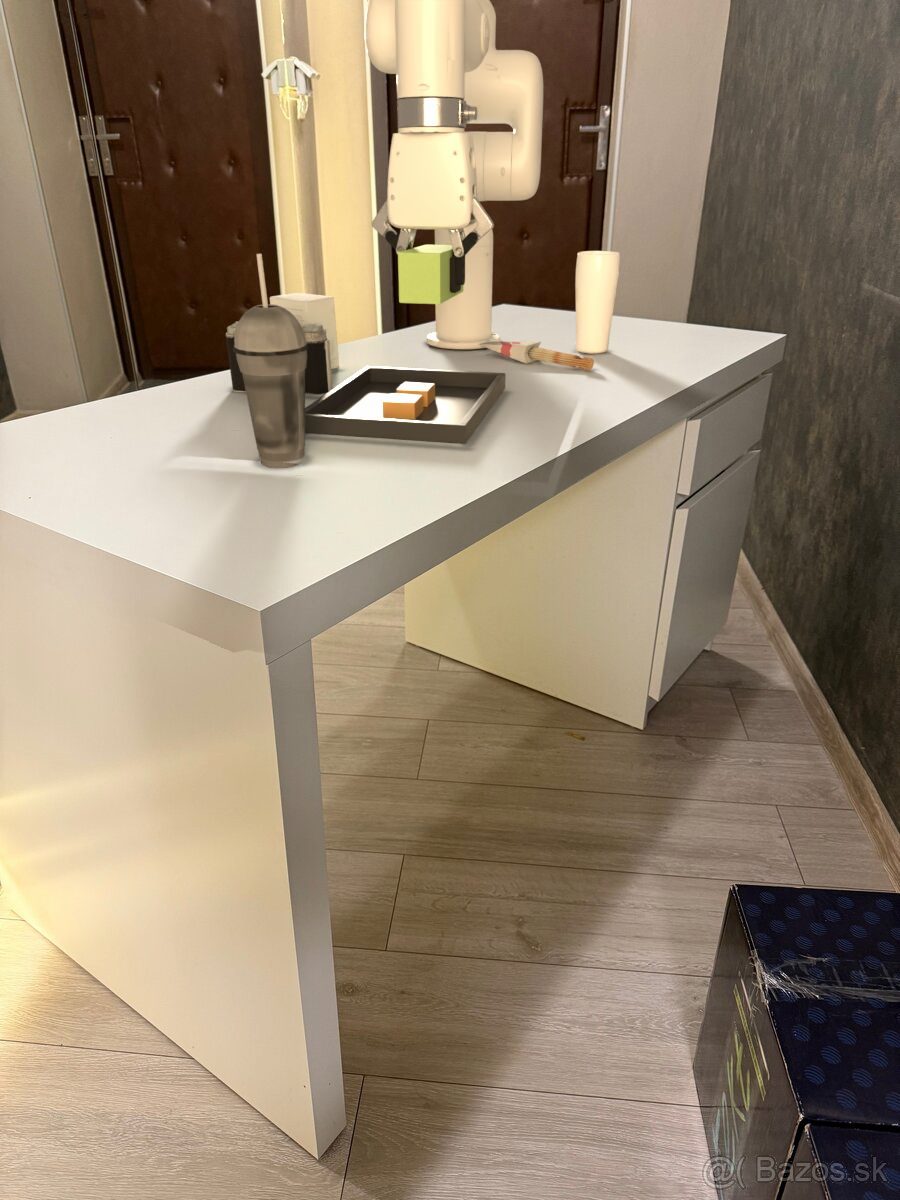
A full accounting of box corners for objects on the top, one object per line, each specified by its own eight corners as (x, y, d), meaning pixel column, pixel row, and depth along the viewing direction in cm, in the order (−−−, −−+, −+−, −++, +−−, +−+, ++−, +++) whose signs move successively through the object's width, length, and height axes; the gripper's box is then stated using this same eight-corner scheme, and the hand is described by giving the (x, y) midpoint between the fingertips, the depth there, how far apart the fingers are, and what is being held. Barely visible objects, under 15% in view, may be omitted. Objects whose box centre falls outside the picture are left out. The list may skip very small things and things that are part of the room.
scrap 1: (392, 409, 102) (391, 393, 101) (423, 411, 101) (423, 394, 101) (382, 417, 99) (381, 401, 98) (414, 419, 98) (414, 403, 97)
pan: (367, 384, 116) (366, 366, 115) (505, 392, 112) (505, 373, 111) (296, 437, 94) (294, 414, 93) (465, 449, 90) (465, 425, 89)
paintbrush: (490, 331, 134) (598, 353, 124) (489, 349, 136) (596, 371, 125) (476, 335, 132) (584, 357, 121) (475, 352, 133) (582, 376, 122)
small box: (340, 370, 124) (335, 296, 119) (312, 377, 120) (306, 300, 115) (304, 363, 128) (297, 291, 123) (276, 369, 125) (268, 295, 120)
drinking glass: (621, 352, 135) (630, 253, 128) (590, 357, 132) (597, 255, 125) (592, 345, 140) (599, 249, 133) (562, 350, 137) (568, 252, 130)
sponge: (425, 290, 107) (425, 244, 105) (463, 291, 106) (463, 245, 104) (399, 303, 97) (397, 252, 94) (440, 304, 96) (440, 253, 93)
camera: (214, 396, 110) (204, 318, 106) (241, 384, 116) (232, 310, 111) (315, 404, 106) (308, 324, 102) (337, 392, 112) (332, 315, 107)
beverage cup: (254, 476, 82) (229, 260, 73) (240, 455, 88) (215, 252, 79) (325, 466, 85) (310, 256, 76) (307, 446, 91) (290, 249, 81)
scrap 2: (405, 397, 107) (404, 381, 106) (435, 399, 107) (435, 383, 106) (396, 405, 104) (396, 389, 103) (427, 407, 103) (427, 390, 102)
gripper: (511, 120, 94) (506, 289, 103) (369, 122, 98) (376, 285, 106) (499, 116, 88) (495, 297, 96) (348, 118, 92) (356, 292, 100)
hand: (432, 289), depth 101 cm, fingers closed on sponge, 5 cm apart
